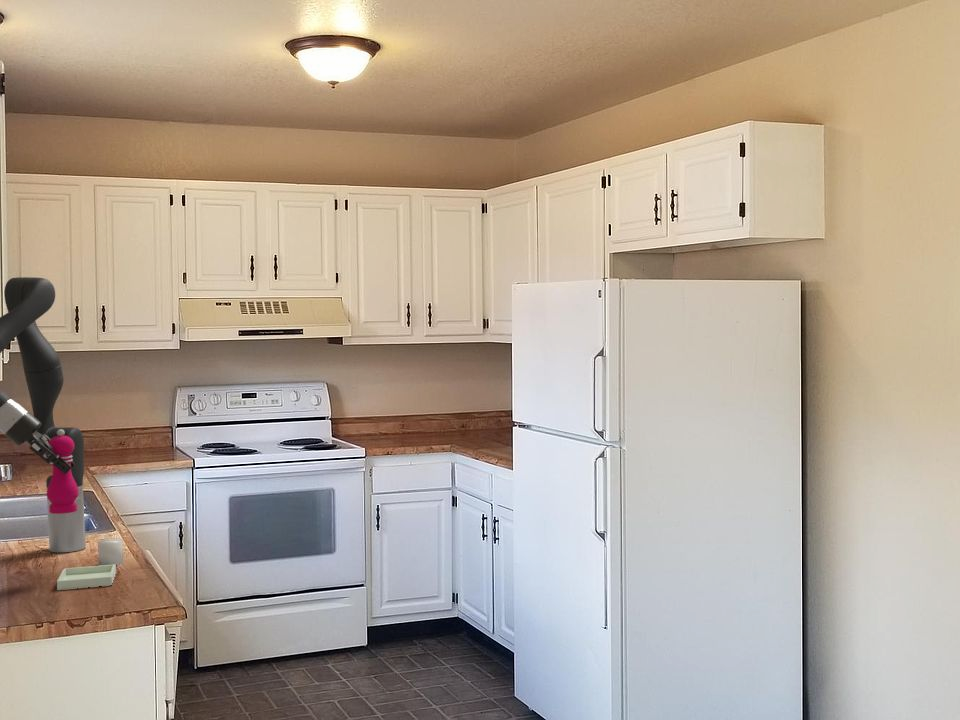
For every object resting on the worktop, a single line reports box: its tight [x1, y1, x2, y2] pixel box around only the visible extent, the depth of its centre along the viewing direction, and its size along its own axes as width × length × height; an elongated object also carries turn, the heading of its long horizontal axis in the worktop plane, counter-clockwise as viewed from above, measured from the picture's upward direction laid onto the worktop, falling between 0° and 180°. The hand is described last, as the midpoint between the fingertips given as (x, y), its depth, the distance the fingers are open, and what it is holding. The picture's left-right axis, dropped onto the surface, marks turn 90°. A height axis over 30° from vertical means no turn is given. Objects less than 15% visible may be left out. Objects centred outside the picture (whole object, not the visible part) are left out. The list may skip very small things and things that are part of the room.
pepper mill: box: [46, 429, 79, 514], centre depth 260 cm, size 7×7×20 cm
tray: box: [56, 564, 117, 591], centre depth 257 cm, size 13×12×2 cm
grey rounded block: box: [97, 538, 124, 566], centre depth 274 cm, size 6×6×6 cm
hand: (70, 469), depth 261 cm, fingers closed on pepper mill, 5 cm apart
